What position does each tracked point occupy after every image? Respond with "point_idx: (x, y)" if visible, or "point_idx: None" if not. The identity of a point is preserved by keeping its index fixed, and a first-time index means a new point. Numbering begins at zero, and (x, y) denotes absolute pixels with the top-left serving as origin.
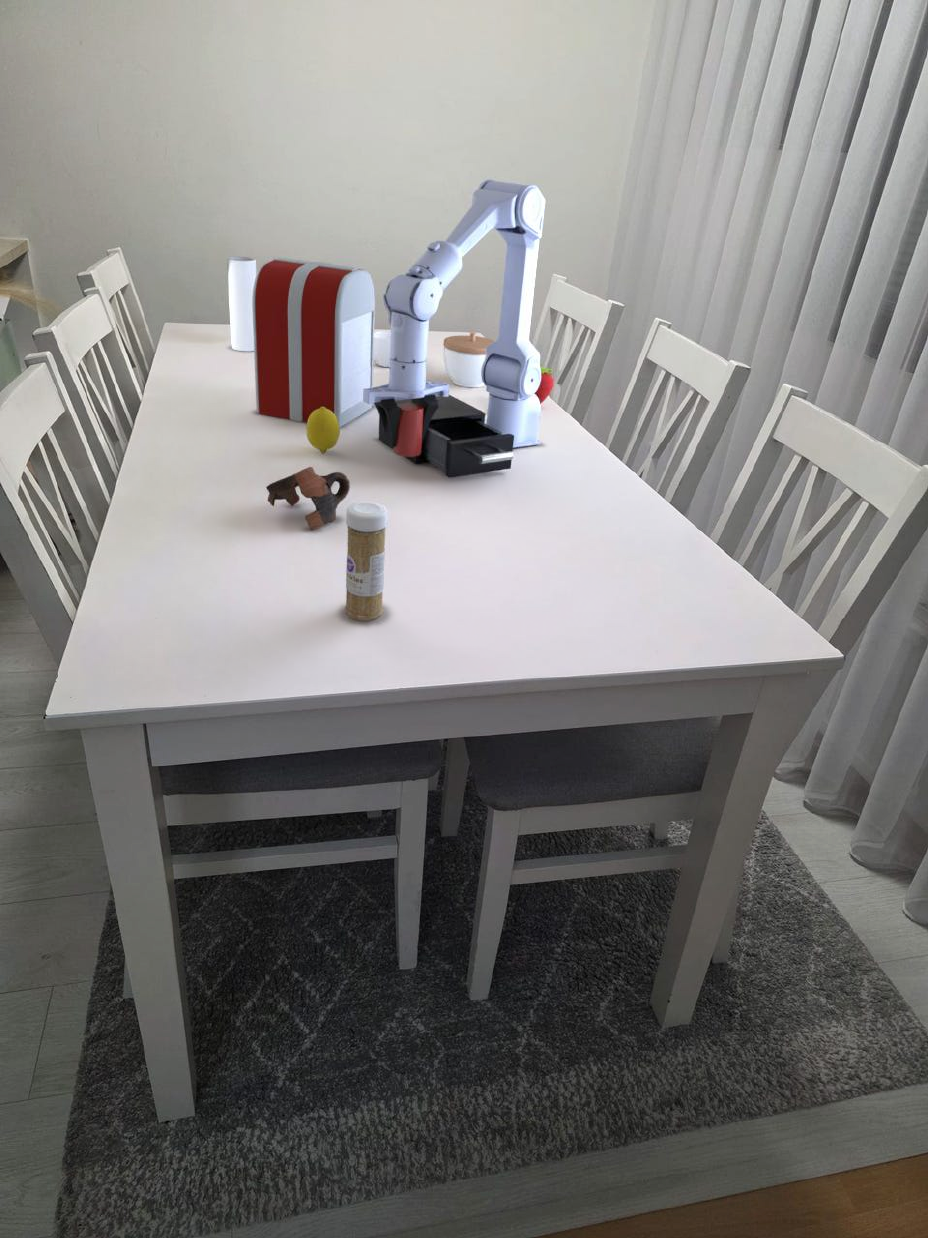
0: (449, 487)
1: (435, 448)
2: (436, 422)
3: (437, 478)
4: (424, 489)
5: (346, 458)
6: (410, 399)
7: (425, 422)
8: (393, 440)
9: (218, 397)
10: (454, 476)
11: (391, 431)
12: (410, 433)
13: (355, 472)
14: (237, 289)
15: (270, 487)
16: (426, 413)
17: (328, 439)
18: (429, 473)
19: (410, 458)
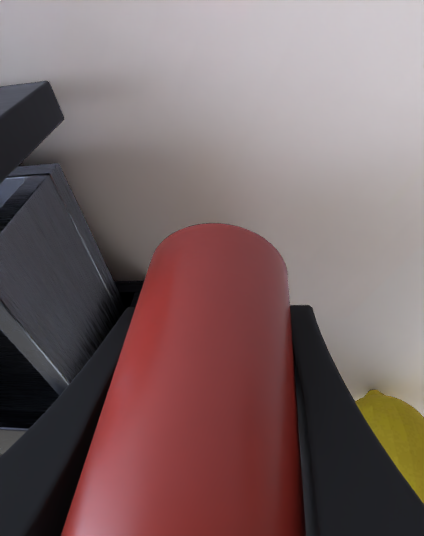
0: (63, 11)
1: (67, 283)
2: (22, 412)
3: (104, 148)
4: (210, 20)
5: (339, 356)
6: None
7: (77, 412)
8: (317, 332)
9: None
10: (15, 85)
11: (345, 387)
12: (228, 340)
13: (390, 278)
14: None
15: None
16: (44, 489)
17: (400, 422)
18: (125, 204)
19: None
